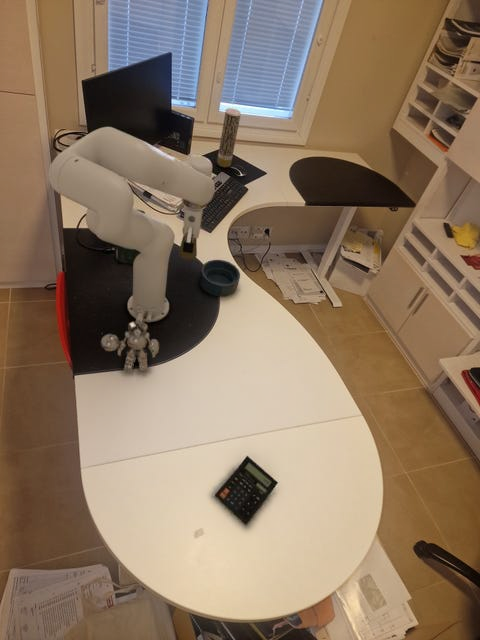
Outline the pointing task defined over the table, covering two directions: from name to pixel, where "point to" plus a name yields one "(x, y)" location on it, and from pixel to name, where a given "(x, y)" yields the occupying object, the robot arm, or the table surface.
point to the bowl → (219, 277)
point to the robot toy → (132, 345)
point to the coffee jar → (127, 253)
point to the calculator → (246, 490)
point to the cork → (185, 254)
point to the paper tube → (228, 137)
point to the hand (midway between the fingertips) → (188, 246)
